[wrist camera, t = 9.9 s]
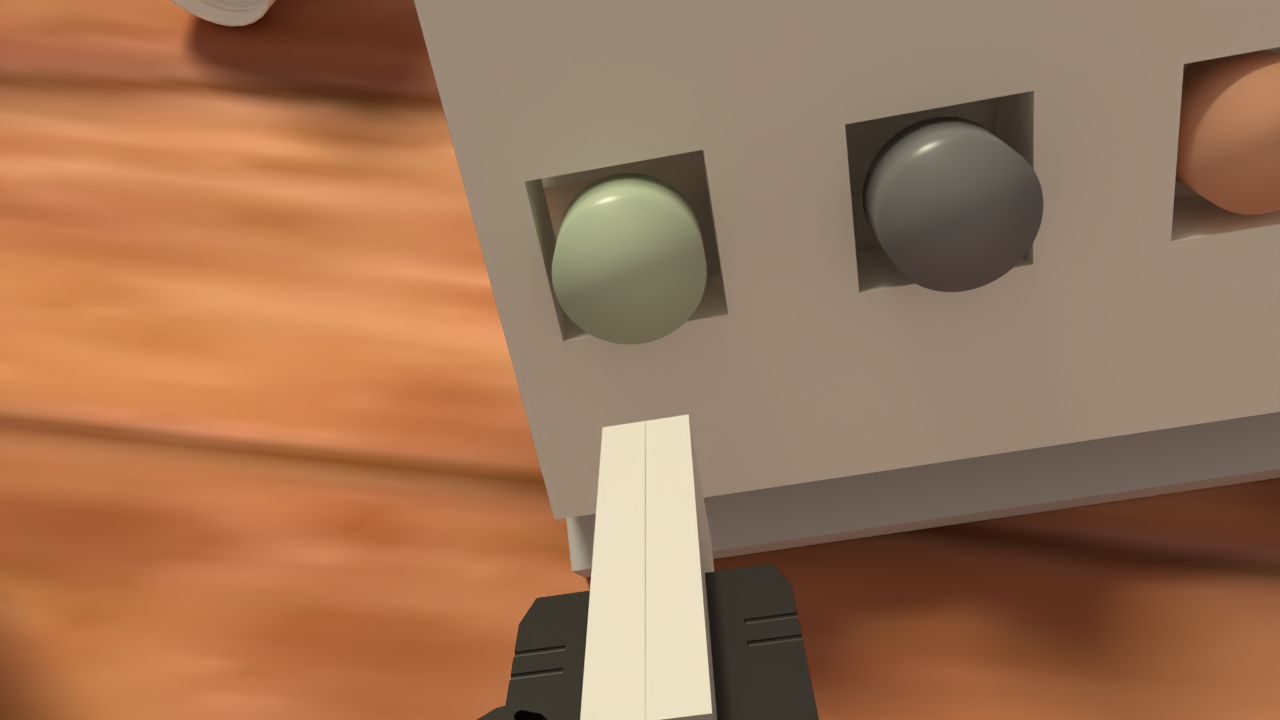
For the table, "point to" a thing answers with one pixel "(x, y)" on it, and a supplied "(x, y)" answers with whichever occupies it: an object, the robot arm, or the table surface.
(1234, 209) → the terracotta button
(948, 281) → the charcoal button
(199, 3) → the spread jar
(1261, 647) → the table surface
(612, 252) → the sage button
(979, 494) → the button console
